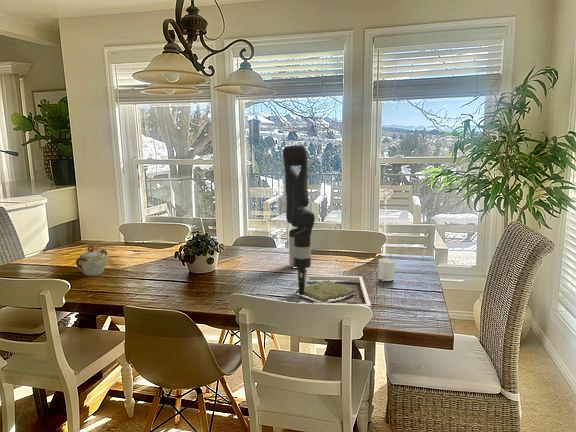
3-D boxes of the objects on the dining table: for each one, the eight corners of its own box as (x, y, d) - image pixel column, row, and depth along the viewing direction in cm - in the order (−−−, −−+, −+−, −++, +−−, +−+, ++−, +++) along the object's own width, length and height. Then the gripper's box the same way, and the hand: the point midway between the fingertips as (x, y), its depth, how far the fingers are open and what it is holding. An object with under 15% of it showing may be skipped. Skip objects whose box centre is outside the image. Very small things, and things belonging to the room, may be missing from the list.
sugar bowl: (89, 280, 204) (86, 251, 202) (66, 277, 210) (64, 248, 207) (118, 269, 223) (116, 242, 220) (97, 266, 228) (94, 240, 225)
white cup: (378, 282, 200) (379, 262, 199) (377, 277, 208) (378, 258, 206) (395, 282, 199) (396, 262, 198) (393, 277, 207) (394, 258, 205)
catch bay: (309, 281, 202) (309, 275, 202) (361, 282, 200) (361, 276, 200) (306, 311, 166) (306, 303, 165) (370, 312, 164) (371, 305, 163)
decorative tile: (295, 295, 184) (295, 288, 184) (326, 285, 197) (326, 278, 197) (325, 307, 170) (325, 299, 170) (357, 296, 183) (357, 288, 183)
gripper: (294, 251, 188) (294, 285, 191) (292, 259, 174) (292, 296, 177) (311, 251, 188) (310, 285, 190) (310, 260, 174) (309, 297, 176)
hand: (302, 291), depth 184 cm, fingers open, 8 cm apart
